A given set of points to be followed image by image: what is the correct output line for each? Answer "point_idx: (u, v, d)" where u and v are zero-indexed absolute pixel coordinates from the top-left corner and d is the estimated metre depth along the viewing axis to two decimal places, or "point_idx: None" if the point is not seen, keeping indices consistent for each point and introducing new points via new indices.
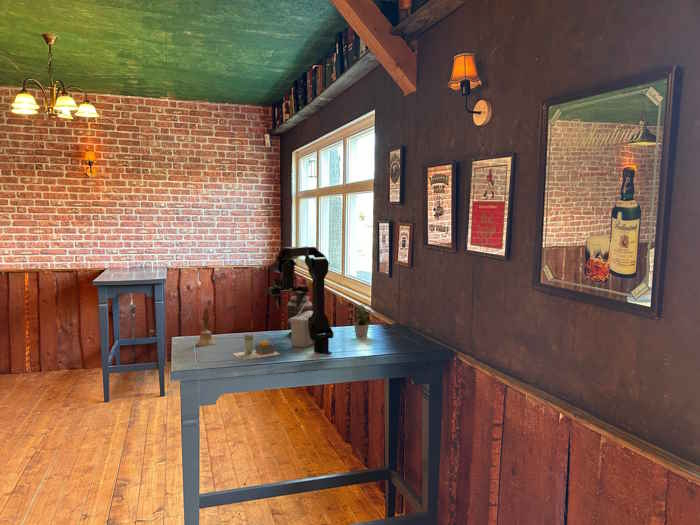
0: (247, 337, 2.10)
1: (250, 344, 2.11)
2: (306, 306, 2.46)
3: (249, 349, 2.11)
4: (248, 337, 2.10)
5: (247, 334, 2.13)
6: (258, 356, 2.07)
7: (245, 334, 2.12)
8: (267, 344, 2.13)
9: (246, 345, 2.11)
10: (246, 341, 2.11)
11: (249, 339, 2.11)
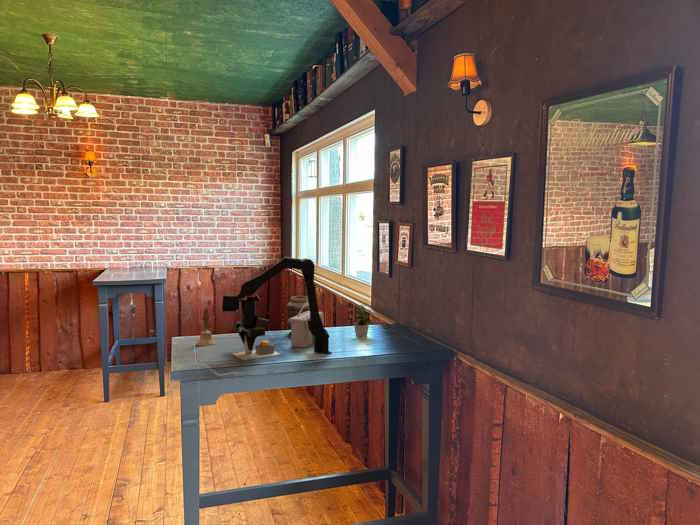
0: None
1: None
2: (306, 306, 2.46)
3: None
4: None
5: None
6: (258, 356, 2.07)
7: (245, 334, 2.13)
8: (267, 344, 2.13)
9: (246, 345, 2.11)
10: None
11: None
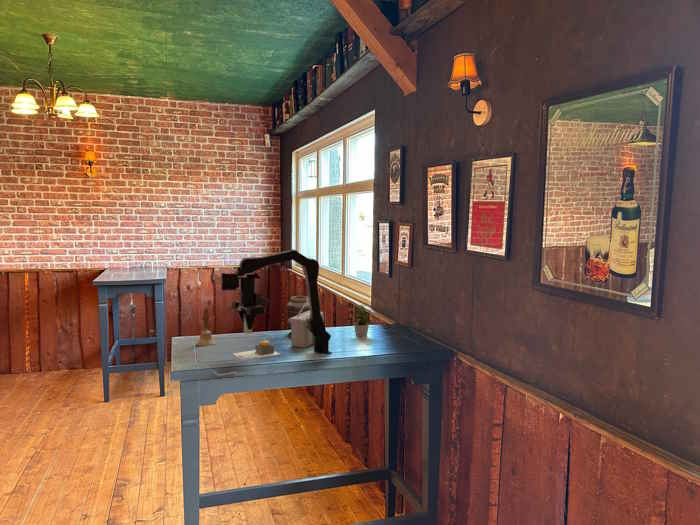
0: None
1: None
2: (306, 306, 2.46)
3: None
4: None
5: None
6: (258, 356, 2.07)
7: None
8: (267, 344, 2.13)
9: (245, 324, 2.05)
10: None
11: None
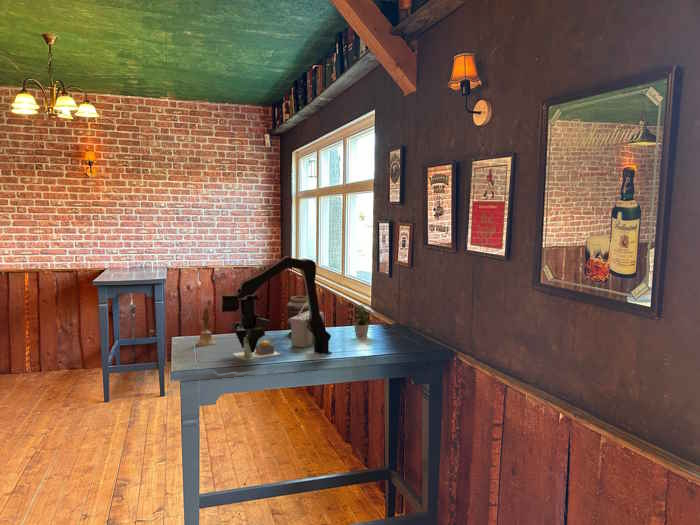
0: (246, 340, 2.05)
1: (249, 347, 2.06)
2: (306, 306, 2.46)
3: (249, 353, 2.06)
4: None
5: None
6: (258, 356, 2.07)
7: (244, 337, 2.07)
8: (267, 344, 2.13)
9: (245, 348, 2.05)
10: (245, 344, 2.05)
11: None
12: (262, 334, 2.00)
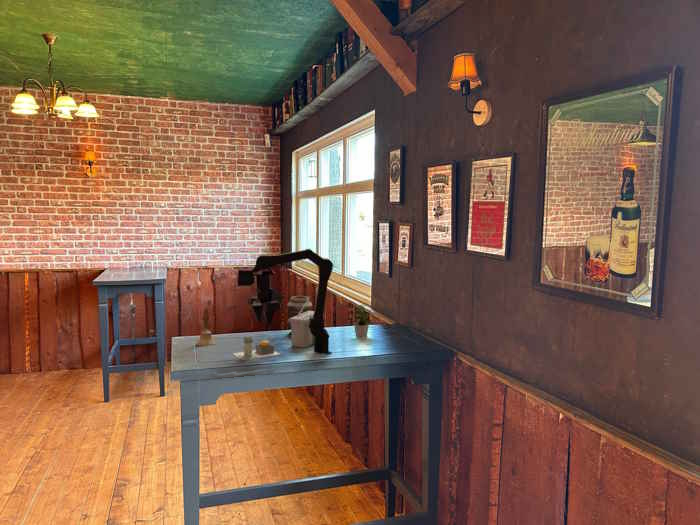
0: (246, 340, 2.05)
1: (249, 347, 2.06)
2: (306, 306, 2.46)
3: (249, 352, 2.06)
4: (247, 340, 2.05)
5: (246, 337, 2.07)
6: (258, 356, 2.07)
7: (244, 337, 2.07)
8: (267, 344, 2.13)
9: (245, 348, 2.05)
10: (245, 344, 2.05)
11: (248, 342, 2.05)
12: (278, 307, 2.05)
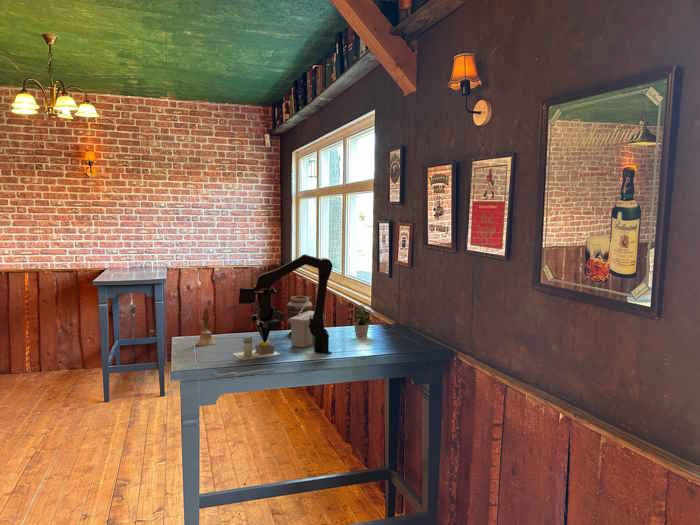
0: (246, 340, 2.05)
1: (249, 347, 2.06)
2: (306, 306, 2.46)
3: (249, 353, 2.06)
4: (247, 340, 2.05)
5: (246, 337, 2.07)
6: (258, 356, 2.07)
7: (244, 337, 2.07)
8: (267, 344, 2.13)
9: (245, 348, 2.05)
10: (245, 344, 2.05)
11: (248, 342, 2.05)
12: (279, 326, 2.06)
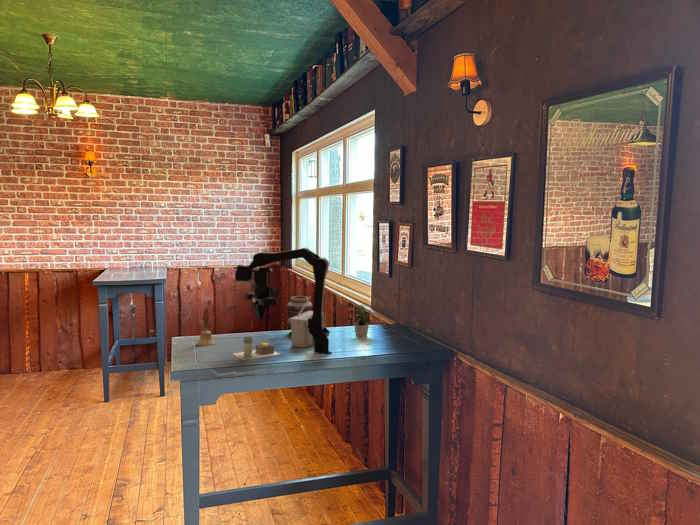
0: (246, 340, 2.05)
1: (249, 347, 2.06)
2: (306, 306, 2.46)
3: (249, 352, 2.06)
4: (247, 340, 2.05)
5: (246, 337, 2.07)
6: (258, 356, 2.07)
7: (244, 337, 2.07)
8: None
9: (245, 348, 2.05)
10: (245, 344, 2.05)
11: (248, 342, 2.05)
12: (275, 303, 2.11)
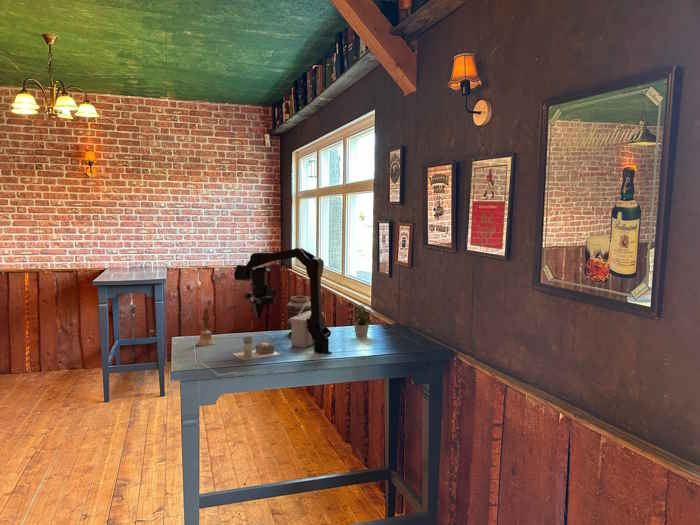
0: (246, 340, 2.05)
1: (249, 347, 2.06)
2: (306, 306, 2.46)
3: (249, 353, 2.06)
4: (247, 340, 2.05)
5: (246, 337, 2.07)
6: (258, 356, 2.07)
7: (244, 337, 2.07)
8: None
9: (245, 348, 2.05)
10: (245, 344, 2.05)
11: (248, 342, 2.05)
12: (272, 302, 2.16)
